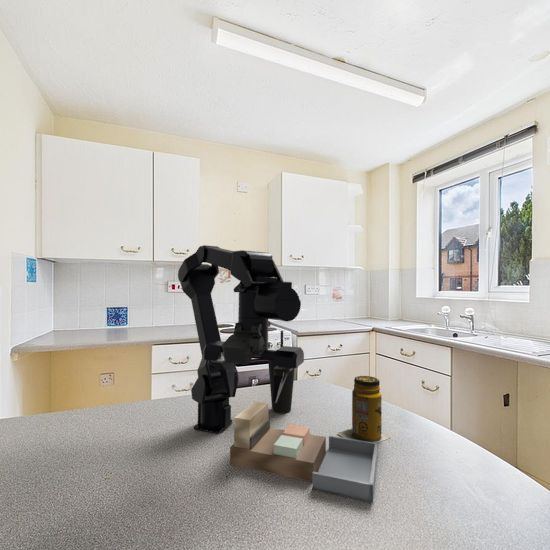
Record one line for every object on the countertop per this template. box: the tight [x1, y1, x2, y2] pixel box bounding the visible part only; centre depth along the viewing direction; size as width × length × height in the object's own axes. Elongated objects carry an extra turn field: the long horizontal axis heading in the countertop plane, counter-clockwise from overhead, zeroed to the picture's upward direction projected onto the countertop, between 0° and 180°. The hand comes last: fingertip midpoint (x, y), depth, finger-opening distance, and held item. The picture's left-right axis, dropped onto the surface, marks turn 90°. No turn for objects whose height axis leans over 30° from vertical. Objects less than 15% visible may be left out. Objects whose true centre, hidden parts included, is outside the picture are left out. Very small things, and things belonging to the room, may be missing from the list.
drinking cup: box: [267, 330, 296, 414], centre depth 85 cm, size 8×8×20 cm
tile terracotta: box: [283, 423, 311, 445], centre depth 62 cm, size 4×4×2 cm
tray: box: [311, 435, 379, 504], centre depth 56 cm, size 9×14×2 cm, turn 160°
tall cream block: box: [233, 401, 271, 450], centre depth 63 cm, size 3×9×5 cm, turn 160°
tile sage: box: [274, 435, 303, 458], centre depth 57 cm, size 4×4×2 cm
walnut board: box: [229, 427, 327, 483], centre depth 61 cm, size 15×10×3 cm, turn 70°
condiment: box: [336, 375, 391, 444], centre depth 70 cm, size 7×8×12 cm
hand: (252, 399), depth 63 cm, fingers open, 9 cm apart
